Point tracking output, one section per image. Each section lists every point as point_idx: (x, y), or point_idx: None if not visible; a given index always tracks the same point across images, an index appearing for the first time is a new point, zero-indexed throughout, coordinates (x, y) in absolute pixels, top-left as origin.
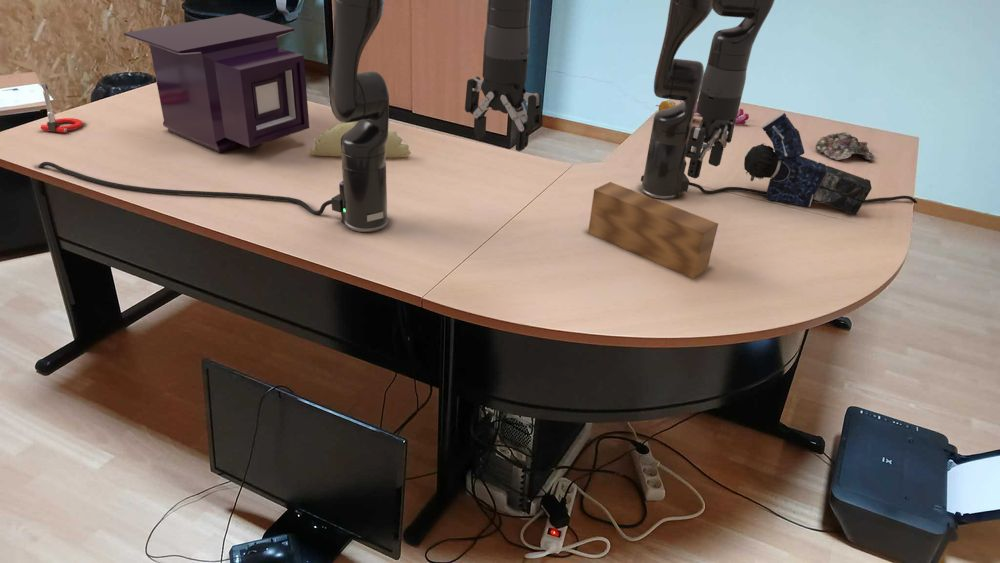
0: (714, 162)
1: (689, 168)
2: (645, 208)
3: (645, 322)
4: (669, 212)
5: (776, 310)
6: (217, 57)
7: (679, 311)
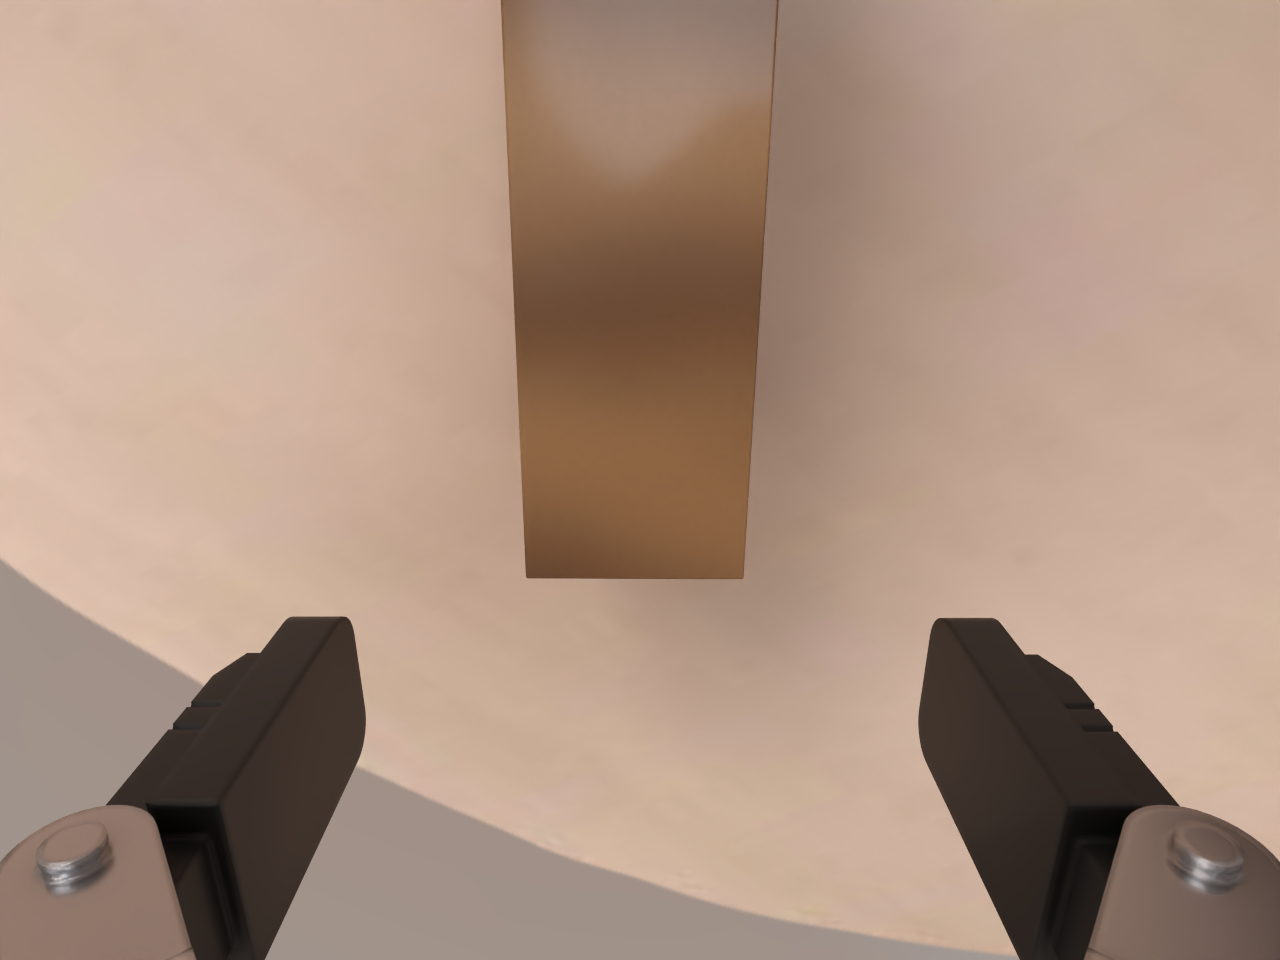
0: (938, 715)
1: (186, 723)
2: (524, 18)
3: (46, 489)
4: (627, 226)
5: (605, 796)
6: None
7: (255, 547)
